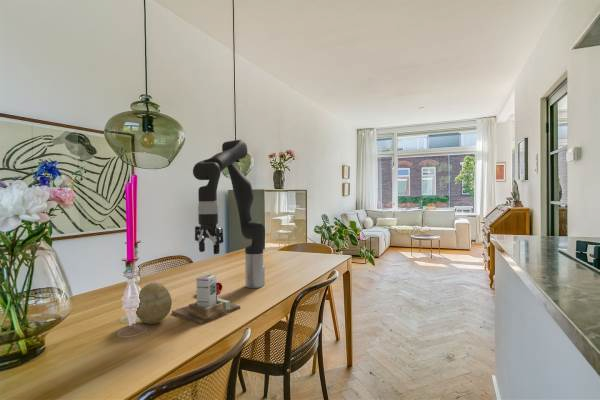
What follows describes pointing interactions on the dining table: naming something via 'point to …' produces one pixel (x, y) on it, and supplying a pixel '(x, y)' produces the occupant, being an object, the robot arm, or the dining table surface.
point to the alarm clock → (218, 288)
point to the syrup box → (206, 290)
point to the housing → (204, 312)
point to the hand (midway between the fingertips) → (209, 252)
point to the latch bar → (227, 303)
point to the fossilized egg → (153, 303)
